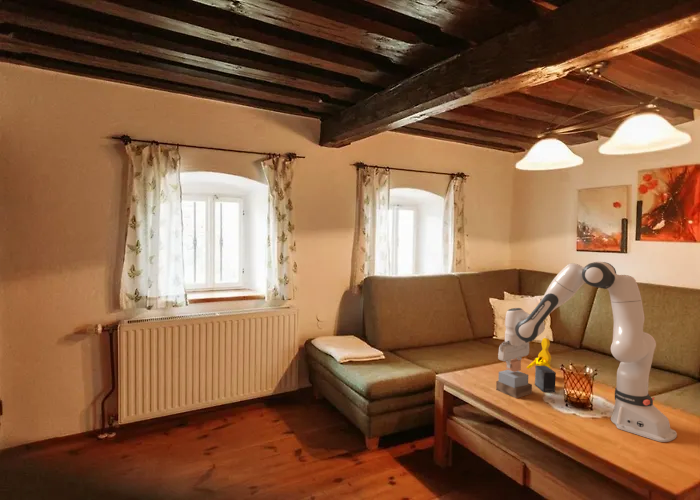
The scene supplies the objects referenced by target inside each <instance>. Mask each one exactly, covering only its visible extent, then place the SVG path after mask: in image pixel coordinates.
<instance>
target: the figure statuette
mask: <svg viewBox="0 0 700 500" xmlns="http://www.w3.org/2000/svg"><path fill="white" fill-rule="evenodd" d="M541 339H542V340H541V342H540V344H541V351H539V352H538V355H537V357H535V358H534V360H533V361H531V363H530V364H528V365H527V366H526V369H527V370H529V369H531V368H532V367H535V366H547V367H549V368H550V369H551V370H553V369H552V367H551V362H552V355H551V353H550V351H549V348H550V345H551V342H550V339H549V338H548V337H543V338H541Z"/></svg>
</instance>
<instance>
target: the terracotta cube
mask: <svg viewBox="0 0 700 500" xmlns="http://www.w3.org/2000/svg"><path fill="white" fill-rule="evenodd" d="M510 364H512V368H508V367H507V363H506V362H505V370H510V371H513V372H516V371H521V369H522V365H521V364H522V359H521V360H518V359H517V358H515V359H511V362H510Z"/></svg>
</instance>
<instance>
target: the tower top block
mask: <svg viewBox="0 0 700 500" xmlns="http://www.w3.org/2000/svg"><path fill="white" fill-rule="evenodd" d="M497 381H499V382H501V383H504V384H506V385H508V386H511V387H513V388H517V387H521V386H524V385H528V383H529V374H527V373H524V372H522V371H521V370H519V371H516V372H513V371H510V370H507V369H505V370H501V371H498V380H497Z"/></svg>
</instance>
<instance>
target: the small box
mask: <svg viewBox="0 0 700 500" xmlns="http://www.w3.org/2000/svg"><path fill="white" fill-rule="evenodd" d="M534 367H535V372H534V385H535V387H537V388H538V389H539V390H540V391H541V392H543V393H556V376H557V375H556V374H557V373H556V372H555V371H554V370H553V369H552V368H551V369H552V370H551V369H550V368H549V367H547V366H536V365H534Z"/></svg>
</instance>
